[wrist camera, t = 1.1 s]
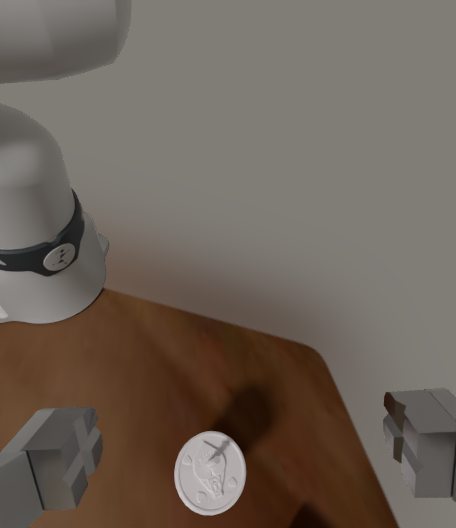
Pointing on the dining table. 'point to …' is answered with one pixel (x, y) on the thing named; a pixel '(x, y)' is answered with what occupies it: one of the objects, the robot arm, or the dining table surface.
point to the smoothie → (210, 473)
